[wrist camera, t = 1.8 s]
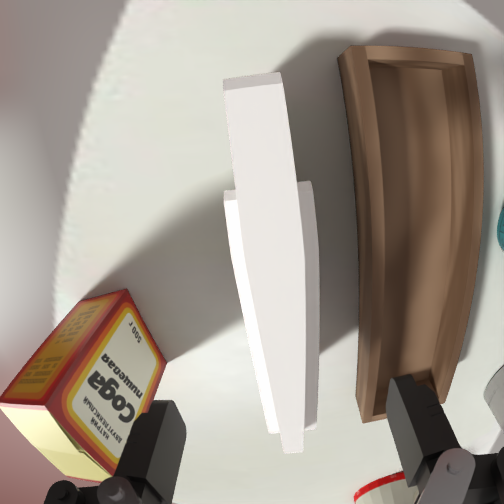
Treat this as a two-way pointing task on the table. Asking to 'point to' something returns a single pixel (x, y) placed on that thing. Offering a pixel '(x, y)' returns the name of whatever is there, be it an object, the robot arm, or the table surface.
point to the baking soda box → (87, 386)
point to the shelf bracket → (274, 255)
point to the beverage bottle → (501, 230)
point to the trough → (413, 212)
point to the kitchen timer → (387, 491)
